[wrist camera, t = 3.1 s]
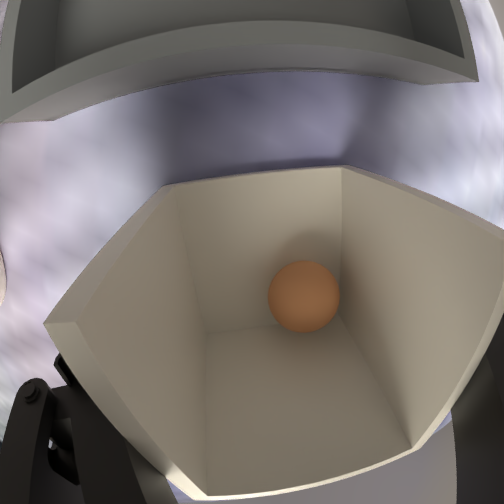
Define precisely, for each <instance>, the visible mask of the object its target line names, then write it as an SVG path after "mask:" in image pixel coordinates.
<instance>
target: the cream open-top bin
mask: <svg viewBox="0 0 504 504" xmlns="http://www.w3.org/2000/svg"><path fill="white" fill-rule="evenodd" d="M297 261H312V262H316V263H318V264H321V265H322V266H324V267H325V268H327V269H328V270H329V271H330V272H331V273H332V275H333V276H334V277H335V279H336V281H337V283H338V286H339V291H340V301H339V306H338V309H337V311H336V313H335V315H334V317H333V318H332V319H331V321H330V322H329V323H327V324H326V325H325V326H324V327H322V328H320V329H318V330H316V331H313V332H307V333H300V332H294V331H291V330H288V329H286V328H285V327H283V326H282V325H281V324H279V323H278V322H277V321H276V319H275V318H274V316H273V315H272V313H271V311H270V308H269V304H268V290H269V286H270V284H271V281H272V279H273V278H274V276H275V275H276V274H277V273H278V272H279V271H280V270H281V269H282V268H283V267H285V266H286V265H288V264H290V263H293V262H297ZM503 313H504V230H503V229H502V228H500V227H498V226H496V225H494V224H492V223H490V222H488V221H486V220H485V219H483V218H481V217H479V216H477V215H475V214H473V213H470V212H468V211H466V210H464V209H462V208H460V207H458V206H456V205H453V204H451V203H449V202H447V201H444V200H442V199H440V198H438V197H435V196H433V195H430V194H428V193H426V192H423V191H421V190H418V189H416V188H413V187H411V186H408V185H405V184H403V183H400V182H397V181H395V180H392V179H389V178H386V177H384V176H381V175H378V174H375V173H372V172H369V171H366V170H363V169H360V168H357V167H353V166H350V165H332V166H316V167H302V168H290V169H279V170H269V171H260V172H251V173H243V174H235V175H227V176H220V177H213V178H206V179H200V180H194V181H187V182H182V183H176V184H170V185H165V186H162V187H161V188H160V189H159V190H158V191H157V192H156V193H155V194H154V195H153V196H152V197H151V198H150V199H149V200H147V201H146V202H145V203H144V204H143V205H142V206H141V207H140V208H139V209H138V210H137V212H136V213H135V214H134V215H133V216H132V217H131V218H130V219H129V220H128V221H127V222H126V223H125V224H124V225H123V226H122V227H121V228H120V229H119V230H118V231H117V233H116V234H115V235H114V236H113V237H112V238H111V239H110V240H109V241H108V242H107V244H106V245H105V246H104V247H103V248H102V249H101V250H100V251H99V253H98V254H97V255H96V256H95V257H94V258H93V260H92V261H91V262H90V263H89V264H88V265H87V267H86V268H85V269H84V270H83V271H82V273H81V274H80V275H79V276H78V278H77V279H76V280H75V281H74V283H73V284H72V285H71V286H70V288H69V289H68V290H67V292H66V293H65V294H64V295H63V297H62V298H61V299H60V301H59V302H58V303H57V305H56V306H55V307H54V309H53V310H52V312H51V313H50V314H49V316H48V317H47V319H46V320H45V321H44V323H43V324H44V326H45V328H46V330H47V332H48V333H49V335H50V337H51V339H52V340H53V342H54V344H55V346H56V347H57V349H58V351H59V352H60V354H61V355H62V357H63V359H64V360H65V362H66V363H67V365H68V366H69V368H70V369H71V371H72V372H73V374H74V375H75V377H76V378H77V380H78V381H79V383H80V384H81V385H82V387H83V388H84V389H85V391H86V392H87V393H88V395H89V396H90V397H91V399H92V400H93V401H94V403H95V404H96V405H97V406H98V408H99V409H100V410H101V411H102V413H103V414H104V415H105V416H106V417H107V419H108V420H109V421H110V422H111V423H112V424H113V426H114V427H115V428H116V429H117V430H118V431H119V432H120V433H121V435H122V436H124V437H125V438H126V439H127V441H128V442H129V443H130V444H131V445H132V446H133V447H134V448H135V449H136V450H137V451H138V452H139V453H140V454H141V455H142V456H143V457H144V458H145V459H146V460H147V461H148V462H149V463H151V464H152V465H153V466H154V467H155V468H156V469H157V470H158V471H159V472H160V473H162V474H163V475H164V476H165V477H166V478H167V479H168V480H169V481H171V482H172V483H173V484H174V485H175V486H177V487H178V488H179V489H180V490H182V491H183V492H184V493H185V494H187V495H188V496H189V497H191V498H192V499H193V500H227V499H241V498H252V497H261V496H268V495H275V494H281V493H286V492H292V491H297V490H302V489H307V488H311V487H316V486H320V485H324V484H328V483H331V482H335V481H338V480H342V479H345V478H348V477H351V476H354V475H357V474H360V473H363V472H366V471H369V470H372V469H374V468H377V467H379V466H382V465H384V464H387V463H389V462H392V461H394V460H396V459H398V458H401V457H403V456H405V455H407V454H409V453H412V452H414V451H416V450H418V449H420V448H421V447H422V445H423V444H424V443H425V442H426V441H427V439H428V438H429V437H430V436H431V435H432V433H433V432H434V431H435V430H436V428H437V427H438V426H439V425H440V423H441V422H442V421H443V419H444V418H445V417H446V415H447V414H448V412H449V411H450V410H451V408H452V407H453V405H454V404H455V402H456V401H457V399H458V398H459V396H460V395H461V393H462V392H463V390H464V388H465V387H466V385H467V384H468V382H469V380H470V379H471V377H472V375H473V374H474V372H475V370H476V368H477V367H478V365H479V363H480V361H481V359H482V357H483V356H484V354H485V352H486V350H487V348H488V346H489V344H490V342H491V340H492V338H493V336H494V334H495V332H496V329H497V327H498V325H499V323H500V320H501V318H502V315H503Z"/></svg>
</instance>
